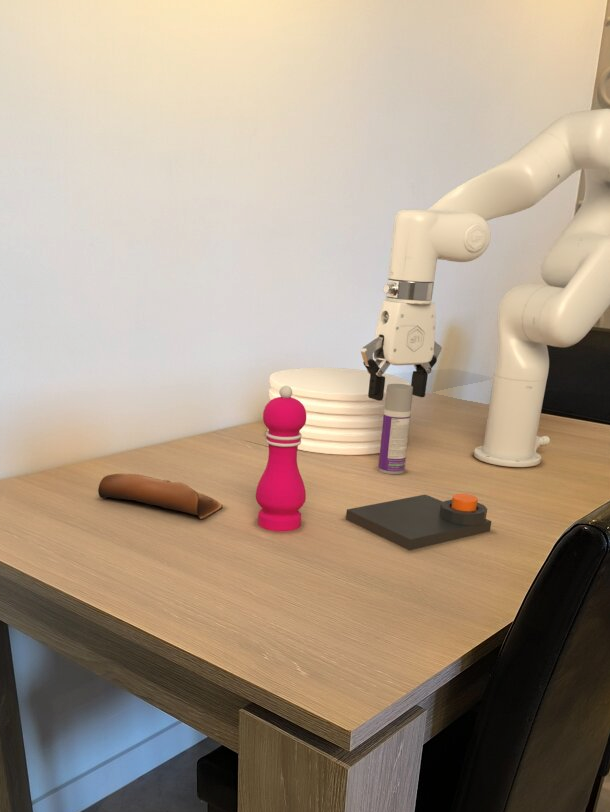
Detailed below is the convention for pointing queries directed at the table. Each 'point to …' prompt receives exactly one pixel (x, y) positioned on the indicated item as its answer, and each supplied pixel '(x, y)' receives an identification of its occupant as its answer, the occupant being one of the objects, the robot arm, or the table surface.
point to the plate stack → (336, 408)
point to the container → (395, 428)
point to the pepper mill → (282, 465)
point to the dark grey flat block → (419, 521)
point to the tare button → (464, 502)
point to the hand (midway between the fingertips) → (396, 397)
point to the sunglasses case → (158, 493)
